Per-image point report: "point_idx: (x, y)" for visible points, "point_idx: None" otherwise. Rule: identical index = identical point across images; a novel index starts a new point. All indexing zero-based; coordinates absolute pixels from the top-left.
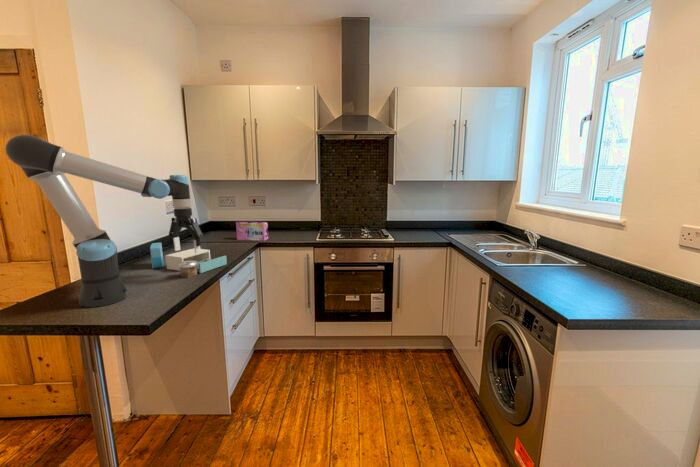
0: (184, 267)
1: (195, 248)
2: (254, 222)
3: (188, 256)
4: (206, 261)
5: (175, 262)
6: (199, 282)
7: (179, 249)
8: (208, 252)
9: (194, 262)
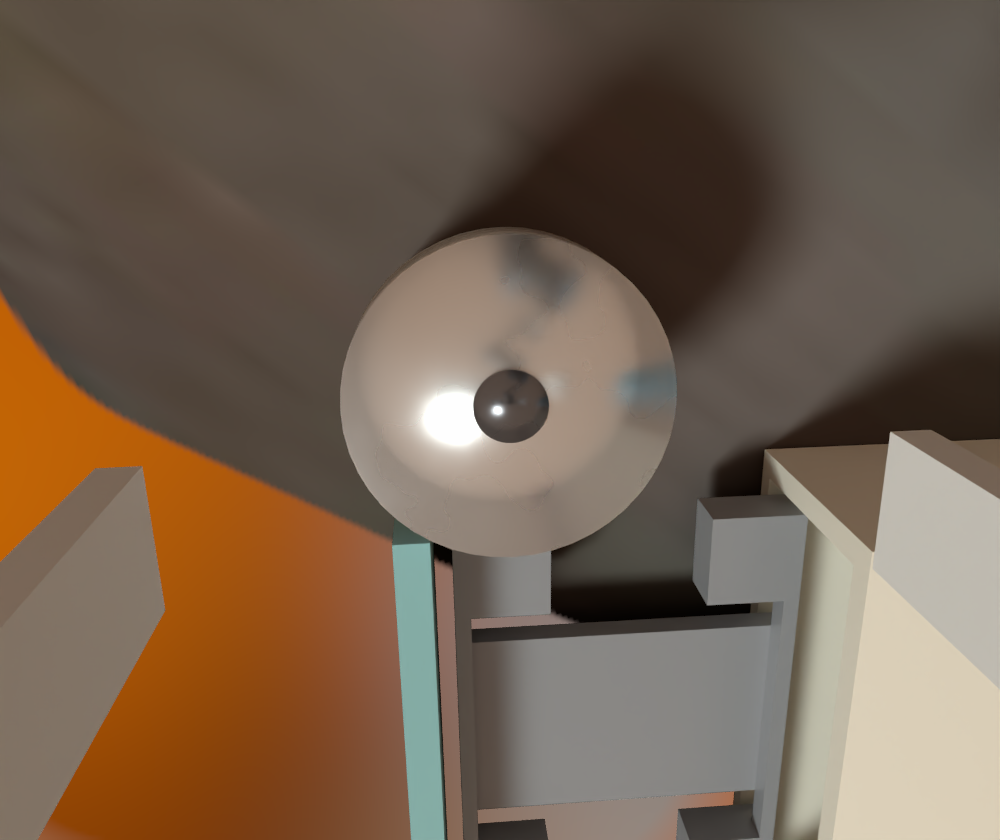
0: (428, 250)
1: (37, 531)
2: None
3: (848, 677)
4: (423, 690)
5: None
6: (27, 168)
7: (882, 545)
8: None
9: (404, 472)
